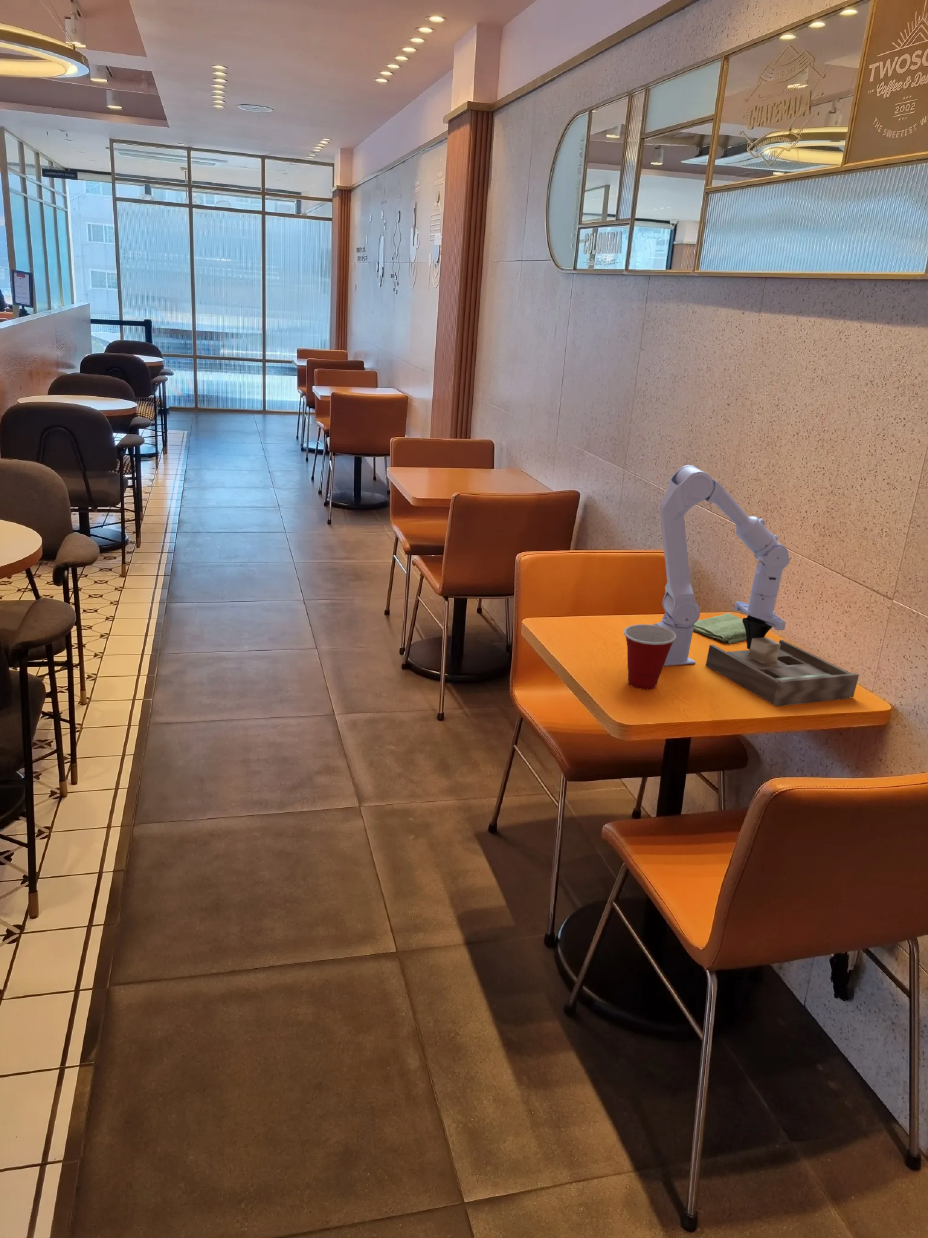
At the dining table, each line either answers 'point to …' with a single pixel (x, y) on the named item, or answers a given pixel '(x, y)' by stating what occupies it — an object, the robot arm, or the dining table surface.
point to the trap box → (785, 675)
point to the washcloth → (722, 628)
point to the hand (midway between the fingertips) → (752, 649)
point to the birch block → (764, 650)
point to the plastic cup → (647, 653)
